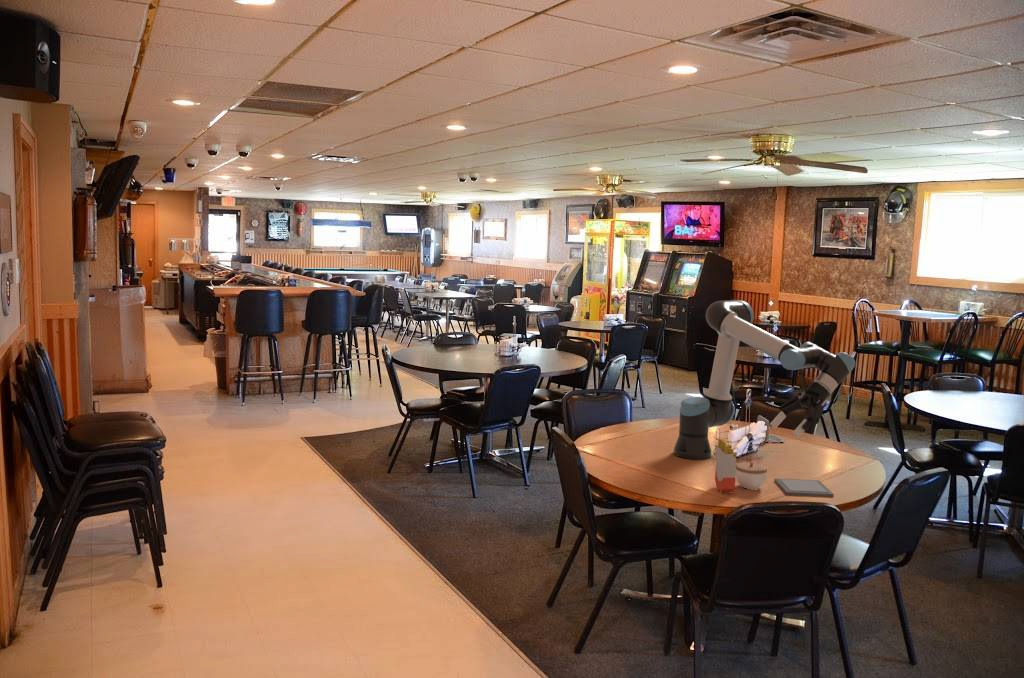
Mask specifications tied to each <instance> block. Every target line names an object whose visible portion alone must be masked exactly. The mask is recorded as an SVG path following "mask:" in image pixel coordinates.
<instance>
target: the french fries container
mask: <svg viewBox="0 0 1024 678" xmlns="http://www.w3.org/2000/svg"><path fill="white" fill-rule="evenodd" d="M732 447H733V446H732V444H728V445H727V444H726V441H725V440H724V439H723V438H720V437H719V438H718V443H717V445H716V457H715V470H714V471H715V473H714V481H715V488H716V487H717V488H718V489H719V490H720V492H733V493H734V491H735V489H736V464H737V456H738V452H736V451H734V449H733V448H732ZM717 488H716V489H717ZM718 489H717V490H718ZM719 490H718V491H719Z"/></svg>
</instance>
